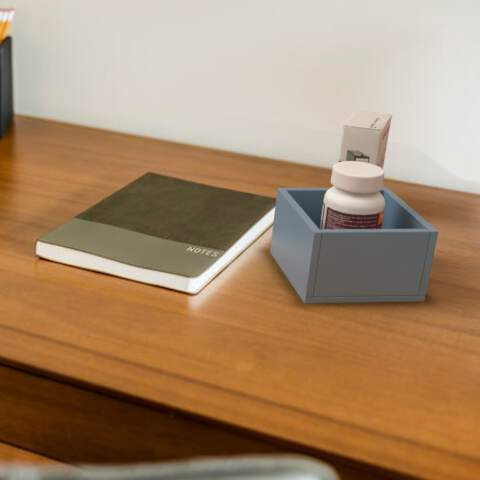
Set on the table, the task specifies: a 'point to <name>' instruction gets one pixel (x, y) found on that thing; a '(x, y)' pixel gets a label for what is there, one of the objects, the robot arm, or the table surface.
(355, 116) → the ink box
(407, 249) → the bin
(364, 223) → the pill bottle
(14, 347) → the table surface
